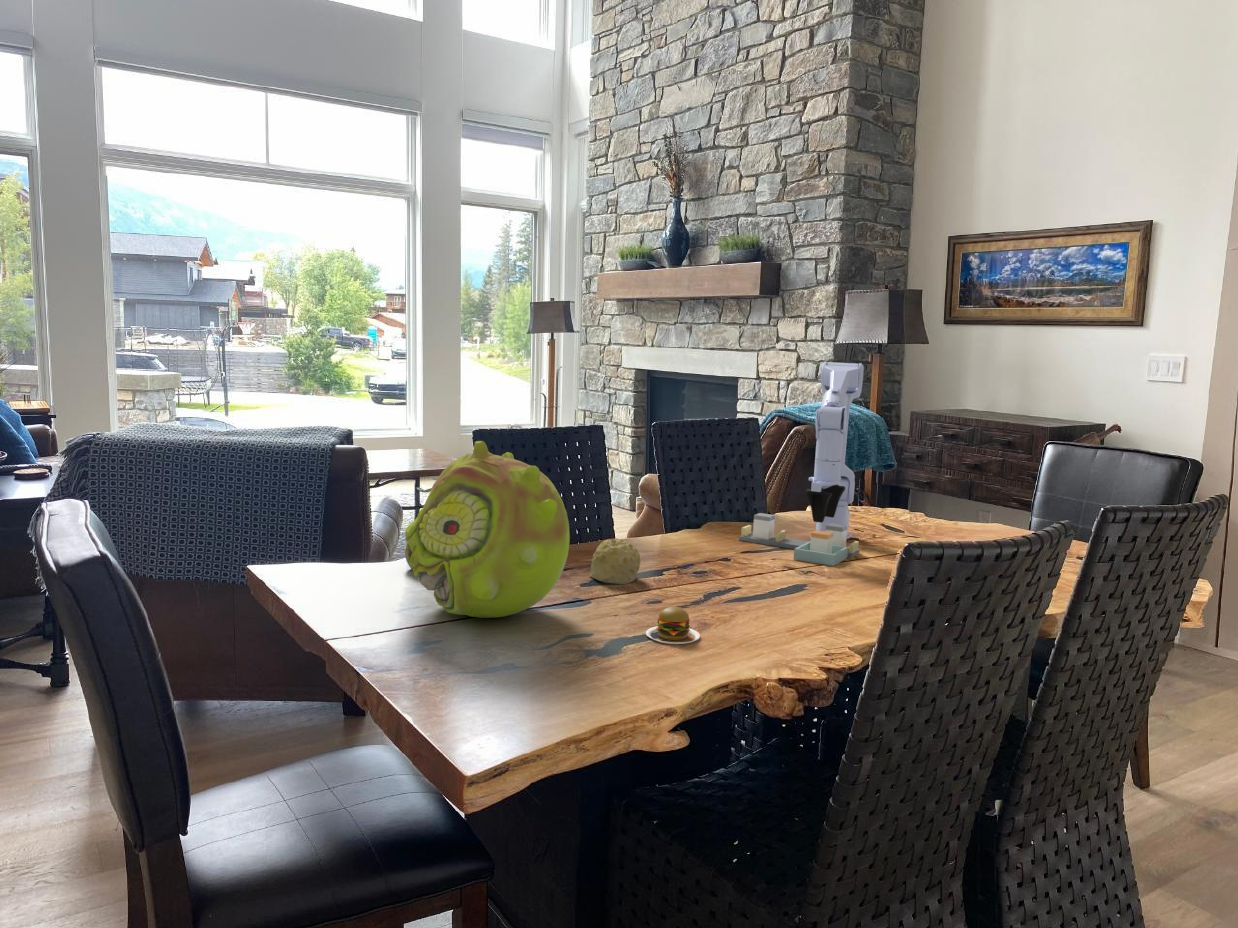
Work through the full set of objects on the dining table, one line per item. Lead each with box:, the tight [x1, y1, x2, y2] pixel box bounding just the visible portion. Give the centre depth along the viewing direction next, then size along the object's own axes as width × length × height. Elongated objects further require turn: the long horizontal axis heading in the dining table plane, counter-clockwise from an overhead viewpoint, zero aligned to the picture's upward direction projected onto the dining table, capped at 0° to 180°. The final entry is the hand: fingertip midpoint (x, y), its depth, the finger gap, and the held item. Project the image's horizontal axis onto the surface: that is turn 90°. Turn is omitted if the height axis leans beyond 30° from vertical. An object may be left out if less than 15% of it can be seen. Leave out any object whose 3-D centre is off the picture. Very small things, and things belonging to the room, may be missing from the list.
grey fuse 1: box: [752, 512, 776, 540], centre depth 232 cm, size 4×4×6 cm
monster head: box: [404, 440, 571, 619], centre depth 161 cm, size 31×28×30 cm
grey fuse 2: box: [825, 523, 847, 547], centre depth 223 cm, size 4×4×6 cm
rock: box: [589, 538, 641, 585], centre depth 191 cm, size 10×11×10 cm
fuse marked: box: [810, 529, 833, 554], centre depth 216 cm, size 4×4×6 cm
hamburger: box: [645, 606, 701, 645], centre depth 155 cm, size 12×12×6 cm
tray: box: [793, 540, 849, 567], centre depth 216 cm, size 10×9×2 cm
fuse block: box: [738, 524, 861, 559], centre depth 227 cm, size 6×28×3 cm, turn 59°
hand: (823, 519), depth 215 cm, fingers open, 7 cm apart
